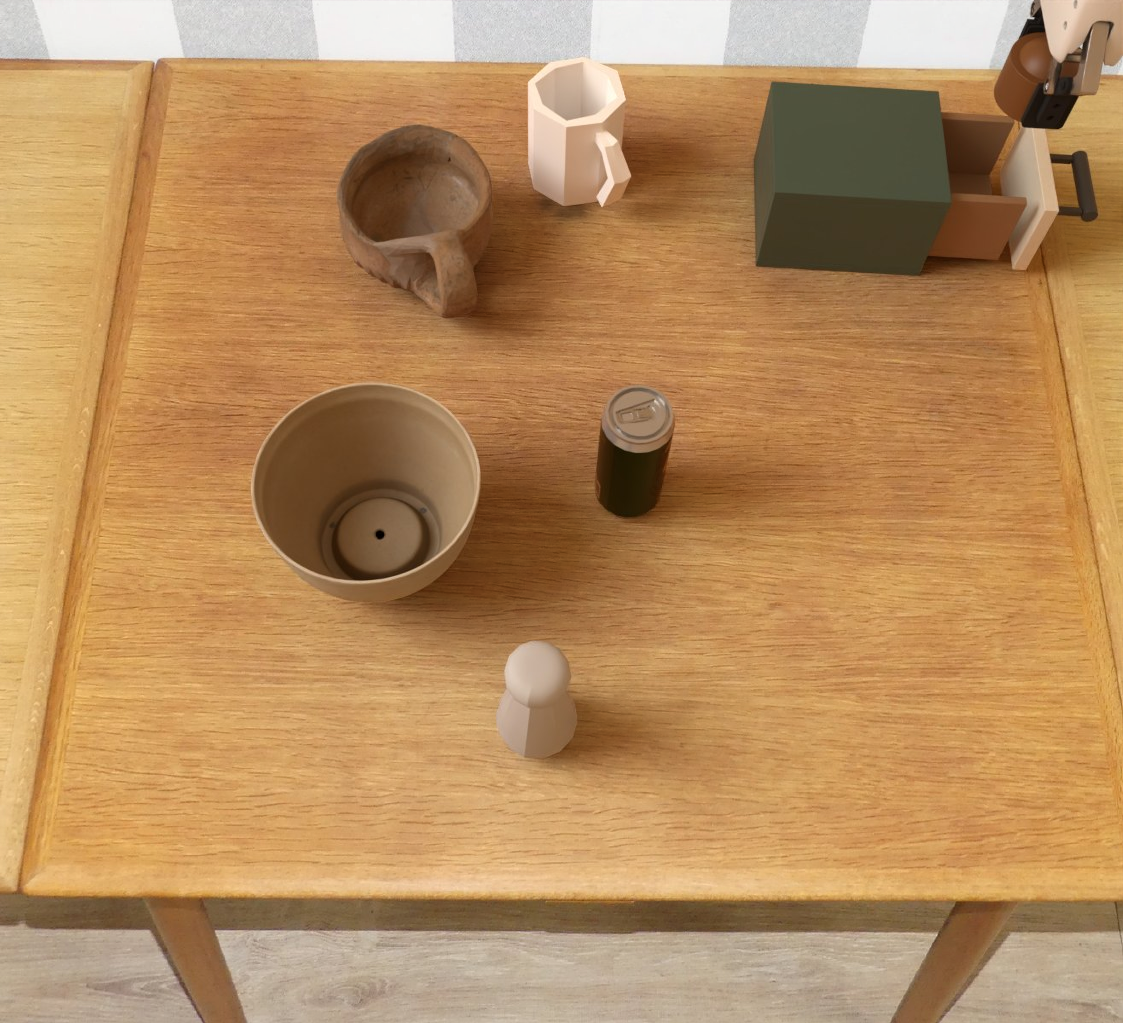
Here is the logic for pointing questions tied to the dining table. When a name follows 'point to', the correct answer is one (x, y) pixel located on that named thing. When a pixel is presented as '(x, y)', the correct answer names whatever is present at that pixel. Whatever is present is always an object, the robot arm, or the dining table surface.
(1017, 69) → the brown dome knob
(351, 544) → the planter bowl
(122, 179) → the dining table surface
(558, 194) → the mug
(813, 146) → the cabinet
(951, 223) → the drawer
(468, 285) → the brown clay cup
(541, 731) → the salt shaker
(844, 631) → the dining table surface
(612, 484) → the beer can
